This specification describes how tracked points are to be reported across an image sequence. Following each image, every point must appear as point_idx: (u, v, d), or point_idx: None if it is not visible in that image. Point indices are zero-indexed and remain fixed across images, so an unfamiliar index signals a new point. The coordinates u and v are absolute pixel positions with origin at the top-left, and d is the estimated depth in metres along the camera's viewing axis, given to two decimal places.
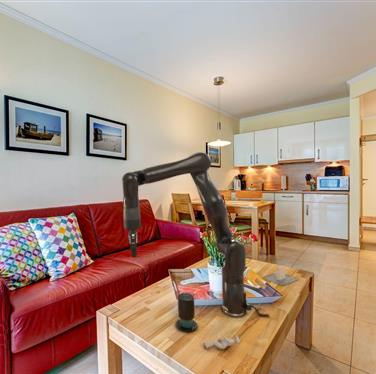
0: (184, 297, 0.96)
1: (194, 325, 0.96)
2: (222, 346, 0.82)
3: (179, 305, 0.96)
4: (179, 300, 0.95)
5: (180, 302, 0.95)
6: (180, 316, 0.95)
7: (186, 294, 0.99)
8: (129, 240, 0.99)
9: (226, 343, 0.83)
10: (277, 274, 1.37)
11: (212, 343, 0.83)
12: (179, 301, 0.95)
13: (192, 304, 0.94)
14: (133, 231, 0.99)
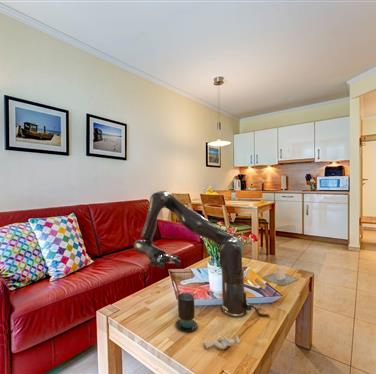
0: (184, 297, 0.96)
1: (194, 325, 0.96)
2: (222, 346, 0.82)
3: (179, 305, 0.96)
4: (179, 300, 0.95)
5: (180, 302, 0.95)
6: (180, 316, 0.95)
7: (186, 294, 0.99)
8: None
9: (226, 343, 0.83)
10: (277, 274, 1.37)
11: (212, 343, 0.83)
12: (179, 301, 0.95)
13: (192, 304, 0.94)
14: (153, 258, 1.15)
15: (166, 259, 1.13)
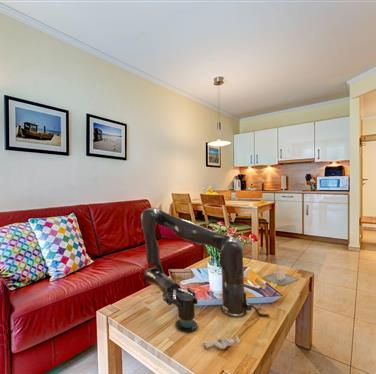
0: (184, 297, 0.96)
1: (194, 325, 0.96)
2: (222, 346, 0.82)
3: None
4: (179, 300, 0.95)
5: None
6: (180, 316, 0.95)
7: (186, 294, 0.99)
8: None
9: (226, 343, 0.83)
10: (277, 274, 1.37)
11: (212, 343, 0.83)
12: None
13: (192, 304, 0.94)
14: (167, 293, 1.04)
15: None
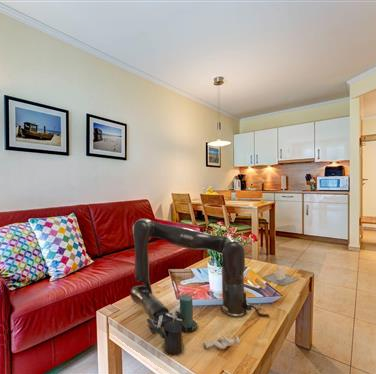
0: (170, 327, 0.84)
1: (194, 325, 0.96)
2: (222, 346, 0.82)
3: None
4: (165, 331, 0.83)
5: None
6: (166, 349, 0.83)
7: (174, 323, 0.86)
8: None
9: (226, 343, 0.83)
10: (277, 274, 1.37)
11: (212, 343, 0.83)
12: (165, 332, 0.83)
13: (180, 336, 0.82)
14: (153, 318, 0.92)
15: None
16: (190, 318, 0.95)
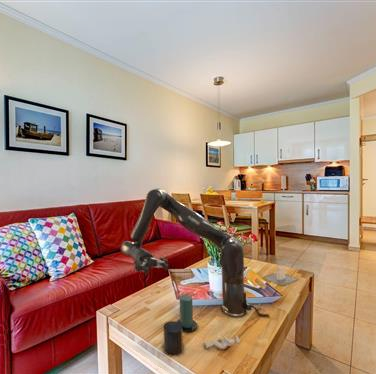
0: (170, 327, 0.84)
1: (194, 325, 0.96)
2: (222, 346, 0.82)
3: (165, 337, 0.83)
4: (165, 331, 0.83)
5: (165, 333, 0.83)
6: (166, 349, 0.83)
7: (174, 323, 0.86)
8: None
9: (226, 343, 0.83)
10: (277, 274, 1.37)
11: (212, 343, 0.83)
12: (165, 332, 0.83)
13: (180, 336, 0.82)
14: None
15: (153, 263, 1.00)
16: (190, 318, 0.95)
